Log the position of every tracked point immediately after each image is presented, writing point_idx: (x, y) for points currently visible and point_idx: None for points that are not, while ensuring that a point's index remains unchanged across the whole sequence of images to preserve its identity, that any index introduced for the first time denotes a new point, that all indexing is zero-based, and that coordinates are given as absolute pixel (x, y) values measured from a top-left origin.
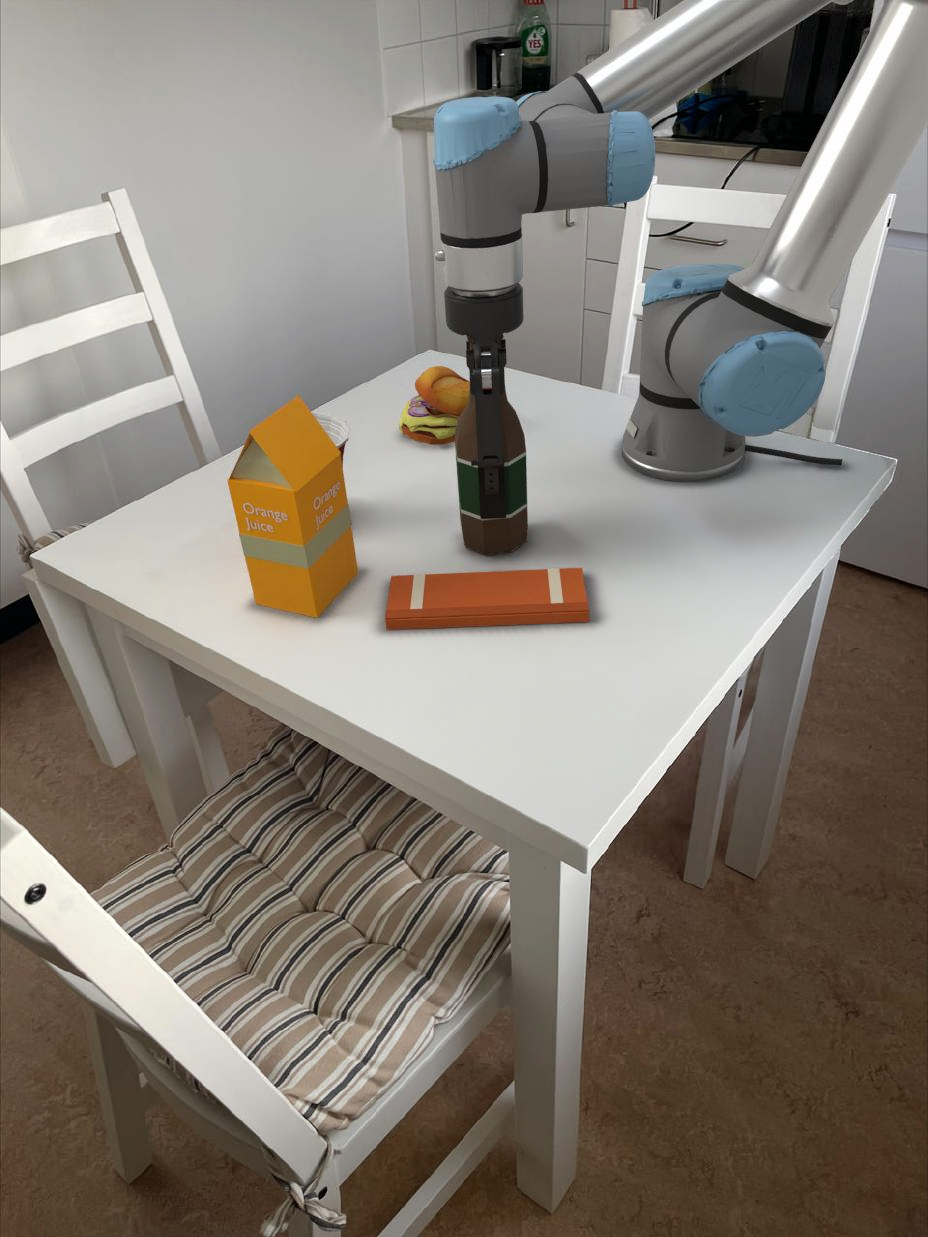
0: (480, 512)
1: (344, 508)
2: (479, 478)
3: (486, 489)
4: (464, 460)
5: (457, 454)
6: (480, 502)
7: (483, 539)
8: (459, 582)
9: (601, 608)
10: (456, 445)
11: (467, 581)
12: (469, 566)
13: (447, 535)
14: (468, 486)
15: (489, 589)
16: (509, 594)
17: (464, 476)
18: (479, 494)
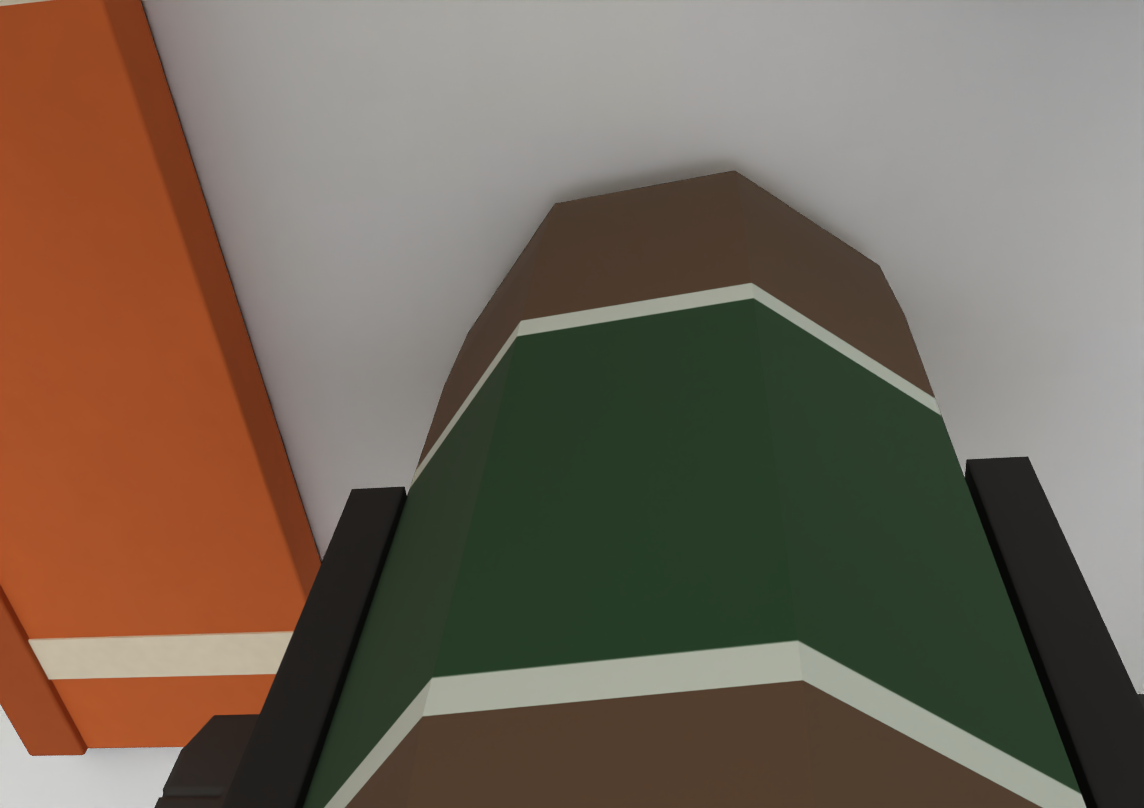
0: (340, 526)
1: None
2: (234, 783)
3: (181, 771)
4: (371, 772)
5: (417, 755)
6: (316, 591)
7: (447, 382)
8: (72, 232)
9: (160, 747)
10: (577, 789)
11: (99, 276)
12: (385, 229)
13: (771, 39)
14: (419, 565)
15: (56, 395)
16: (47, 484)
17: (425, 604)
18: (288, 645)
